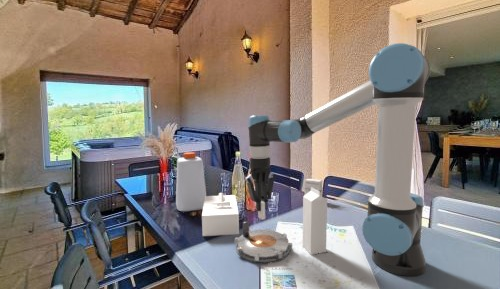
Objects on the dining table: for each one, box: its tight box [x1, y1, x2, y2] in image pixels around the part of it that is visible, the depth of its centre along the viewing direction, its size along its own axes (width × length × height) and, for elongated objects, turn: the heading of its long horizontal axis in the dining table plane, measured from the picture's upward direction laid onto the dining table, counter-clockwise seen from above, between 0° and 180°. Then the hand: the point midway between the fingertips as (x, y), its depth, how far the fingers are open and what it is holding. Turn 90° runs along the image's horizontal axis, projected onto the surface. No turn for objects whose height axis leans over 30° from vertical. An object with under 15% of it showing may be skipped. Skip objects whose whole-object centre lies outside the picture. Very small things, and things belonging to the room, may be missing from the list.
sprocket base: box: [235, 243, 291, 264], centre depth 98 cm, size 19×19×1 cm
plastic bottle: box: [175, 151, 207, 212], centre depth 140 cm, size 15×15×28 cm
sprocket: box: [234, 220, 293, 261], centre depth 97 cm, size 20×20×7 cm
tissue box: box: [201, 192, 240, 237], centre depth 121 cm, size 14×25×11 cm, turn 6°
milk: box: [302, 187, 328, 256], centre depth 95 cm, size 6×6×22 cm
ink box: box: [304, 178, 323, 197], centre depth 147 cm, size 9×5×12 cm, turn 58°
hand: (261, 218), depth 104 cm, fingers closed
